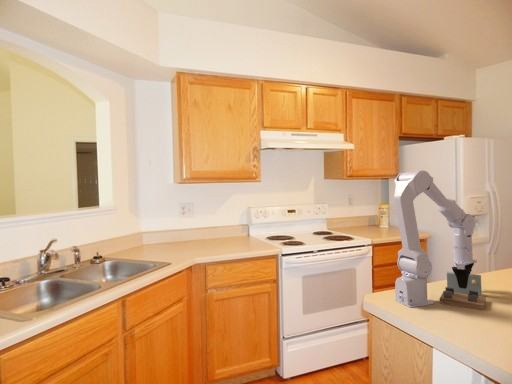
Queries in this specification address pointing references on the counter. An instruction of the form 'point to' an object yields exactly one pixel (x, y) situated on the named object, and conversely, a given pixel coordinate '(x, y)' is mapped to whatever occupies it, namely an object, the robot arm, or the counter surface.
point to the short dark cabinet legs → (450, 291)
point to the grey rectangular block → (472, 285)
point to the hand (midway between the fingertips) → (464, 285)
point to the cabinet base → (464, 301)
